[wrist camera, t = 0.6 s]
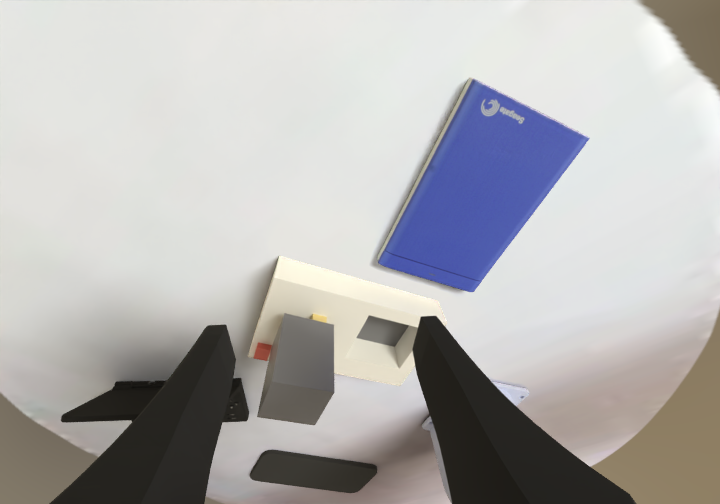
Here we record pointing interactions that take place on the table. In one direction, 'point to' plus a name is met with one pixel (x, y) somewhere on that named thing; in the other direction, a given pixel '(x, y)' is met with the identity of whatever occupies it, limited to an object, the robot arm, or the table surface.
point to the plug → (299, 370)
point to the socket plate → (347, 319)
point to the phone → (312, 471)
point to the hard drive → (478, 187)
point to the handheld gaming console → (144, 403)
